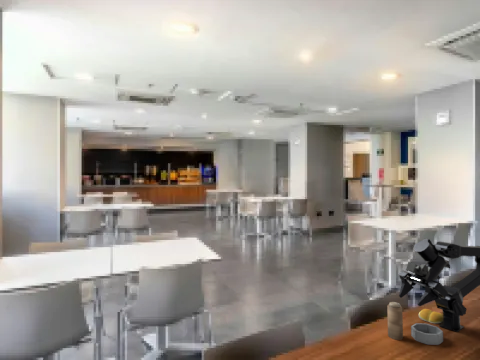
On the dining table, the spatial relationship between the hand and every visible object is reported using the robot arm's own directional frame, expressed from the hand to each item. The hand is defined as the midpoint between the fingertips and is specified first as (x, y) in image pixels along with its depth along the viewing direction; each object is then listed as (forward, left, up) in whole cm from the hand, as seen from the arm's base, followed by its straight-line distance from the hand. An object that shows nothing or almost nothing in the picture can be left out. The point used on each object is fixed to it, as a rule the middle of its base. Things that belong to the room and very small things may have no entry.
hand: (408, 301), depth 123 cm
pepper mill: (+6, -2, -12) cm, 14 cm away
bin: (-1, +6, -12) cm, 14 cm away
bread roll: (-20, -1, -13) cm, 24 cm away
